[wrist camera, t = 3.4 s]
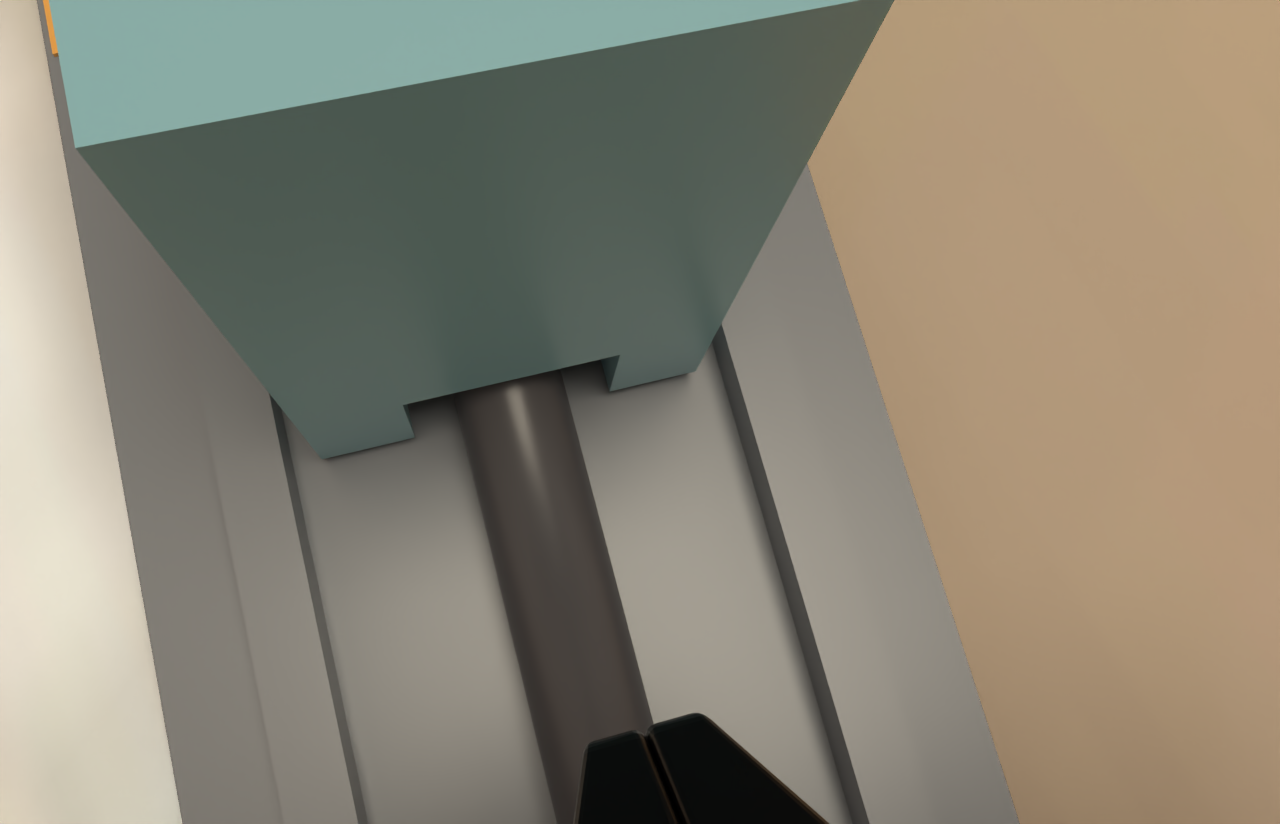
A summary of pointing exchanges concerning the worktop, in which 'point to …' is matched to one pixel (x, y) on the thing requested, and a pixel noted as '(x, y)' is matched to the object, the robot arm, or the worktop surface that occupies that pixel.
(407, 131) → the notched teal block
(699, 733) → the robot arm
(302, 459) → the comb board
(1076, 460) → the worktop surface
